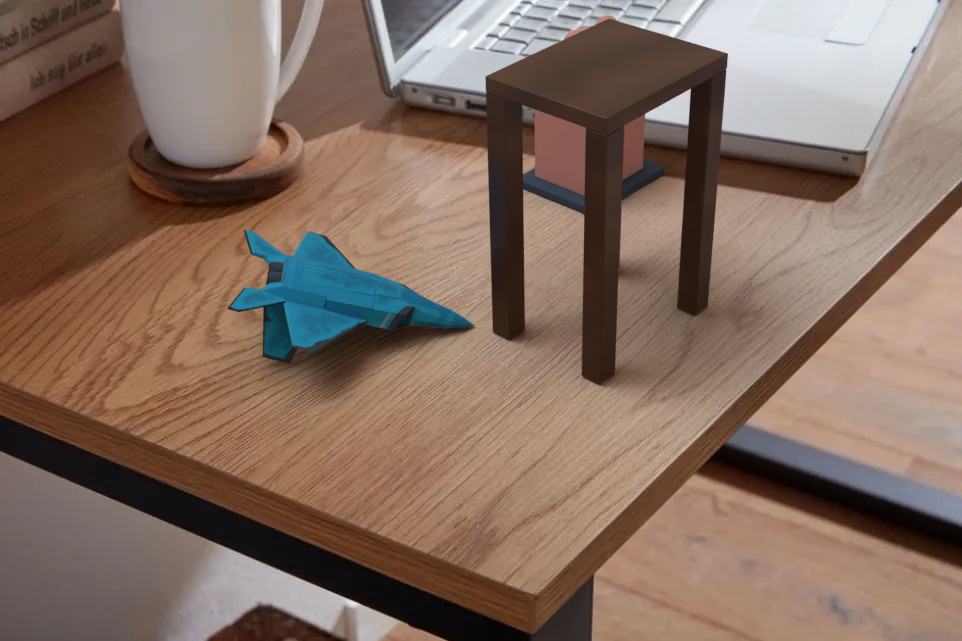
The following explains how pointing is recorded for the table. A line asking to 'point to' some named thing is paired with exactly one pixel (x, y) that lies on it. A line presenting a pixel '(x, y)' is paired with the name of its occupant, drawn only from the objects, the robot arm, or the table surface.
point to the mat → (577, 200)
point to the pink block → (578, 146)
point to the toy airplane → (328, 299)
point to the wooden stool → (603, 164)
